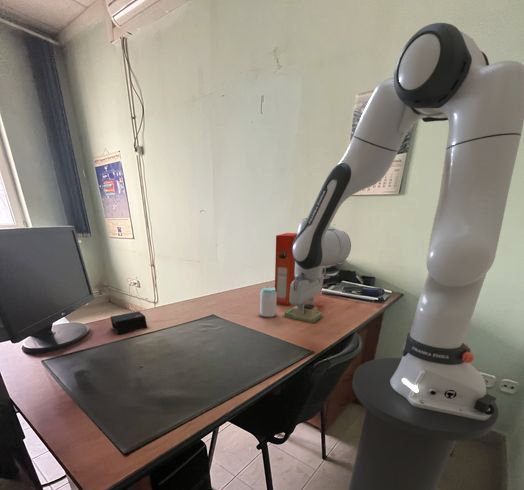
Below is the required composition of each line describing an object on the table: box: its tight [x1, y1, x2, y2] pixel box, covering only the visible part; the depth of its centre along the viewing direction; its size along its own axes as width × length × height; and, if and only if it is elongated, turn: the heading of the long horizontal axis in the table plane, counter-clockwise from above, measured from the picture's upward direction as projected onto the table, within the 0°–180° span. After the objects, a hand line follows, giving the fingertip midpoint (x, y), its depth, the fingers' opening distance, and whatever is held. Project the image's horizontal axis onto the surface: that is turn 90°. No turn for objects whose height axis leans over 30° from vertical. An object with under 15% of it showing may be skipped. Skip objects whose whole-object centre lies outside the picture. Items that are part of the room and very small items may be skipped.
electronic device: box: [110, 310, 148, 335], centre depth 109 cm, size 8×11×5 cm
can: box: [259, 286, 277, 318], centre depth 124 cm, size 7×7×12 cm
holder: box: [284, 307, 323, 324], centre depth 125 cm, size 14×10×2 cm
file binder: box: [274, 232, 297, 306], centre depth 141 cm, size 8×17×32 cm, turn 161°
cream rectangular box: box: [292, 303, 318, 320], centre depth 99 cm, size 7×5×4 cm
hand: (305, 311), depth 100 cm, fingers closed on cream rectangular box, 5 cm apart
